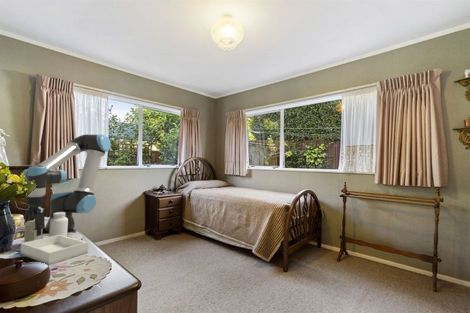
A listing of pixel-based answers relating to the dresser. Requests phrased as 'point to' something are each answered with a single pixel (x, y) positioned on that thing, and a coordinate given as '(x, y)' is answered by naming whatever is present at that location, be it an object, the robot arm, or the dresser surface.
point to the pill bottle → (58, 224)
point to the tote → (54, 249)
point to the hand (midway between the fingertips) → (33, 240)
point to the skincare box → (30, 231)
